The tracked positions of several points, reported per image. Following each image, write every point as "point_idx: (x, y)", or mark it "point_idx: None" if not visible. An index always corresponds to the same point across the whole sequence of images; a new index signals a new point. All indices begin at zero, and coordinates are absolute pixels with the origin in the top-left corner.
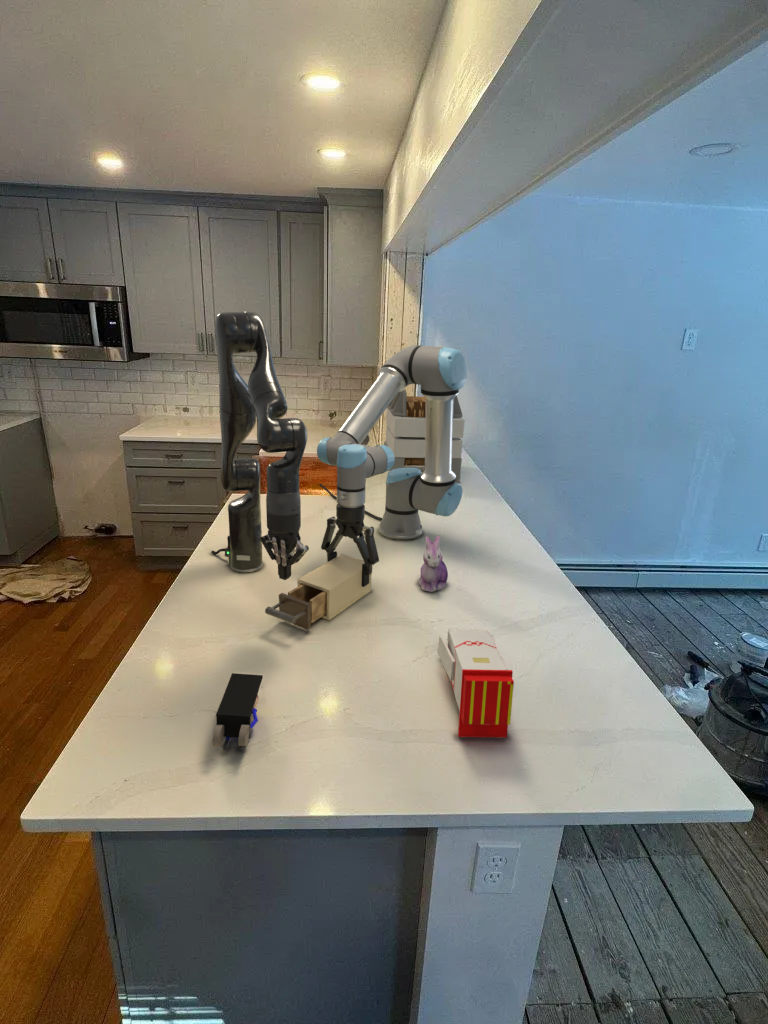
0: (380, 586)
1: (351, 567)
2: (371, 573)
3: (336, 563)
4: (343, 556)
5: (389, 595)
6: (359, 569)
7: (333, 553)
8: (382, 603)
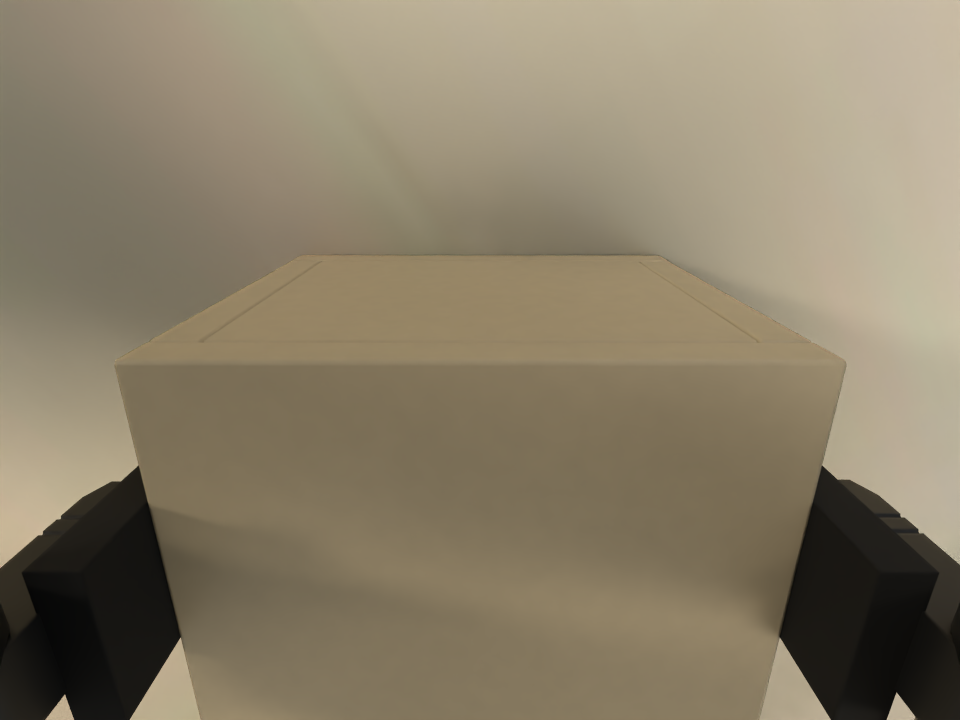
0: (702, 100)
1: (604, 671)
2: (858, 485)
3: (332, 684)
4: (223, 436)
5: (861, 223)
6: (745, 657)
7: (95, 659)
8: (847, 387)
